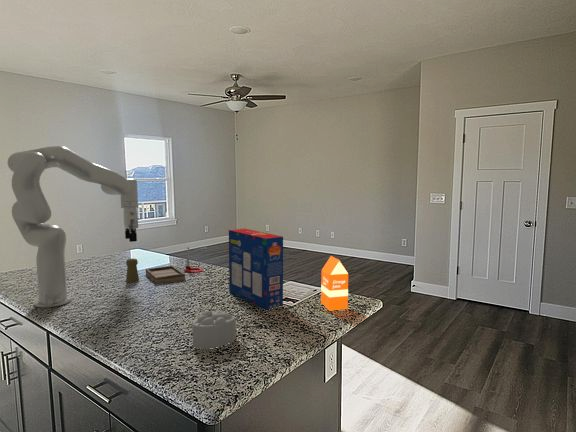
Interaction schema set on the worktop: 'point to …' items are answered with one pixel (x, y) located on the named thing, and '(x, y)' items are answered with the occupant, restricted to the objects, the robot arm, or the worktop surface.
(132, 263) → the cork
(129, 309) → the worktop surface
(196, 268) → the tow hook
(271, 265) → the pasta box
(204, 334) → the lumpy-topped squat cylinder
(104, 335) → the worktop surface
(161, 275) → the walnut tray
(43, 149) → the robot arm
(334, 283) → the orange juice
